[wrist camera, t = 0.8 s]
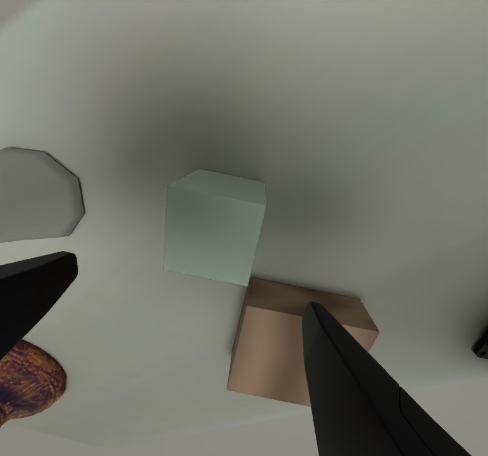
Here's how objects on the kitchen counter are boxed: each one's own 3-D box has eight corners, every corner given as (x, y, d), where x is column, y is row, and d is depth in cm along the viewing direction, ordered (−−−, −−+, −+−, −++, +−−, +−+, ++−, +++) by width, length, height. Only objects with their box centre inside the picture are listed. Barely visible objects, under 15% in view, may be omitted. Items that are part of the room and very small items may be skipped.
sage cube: (265, 182, 17) (266, 205, 11) (251, 241, 19) (247, 286, 13) (199, 168, 17) (167, 185, 11) (192, 229, 19) (163, 269, 13)
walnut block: (358, 296, 20) (379, 332, 17) (323, 369, 24) (334, 411, 21) (249, 274, 20) (246, 305, 17) (232, 351, 24) (226, 390, 21)
